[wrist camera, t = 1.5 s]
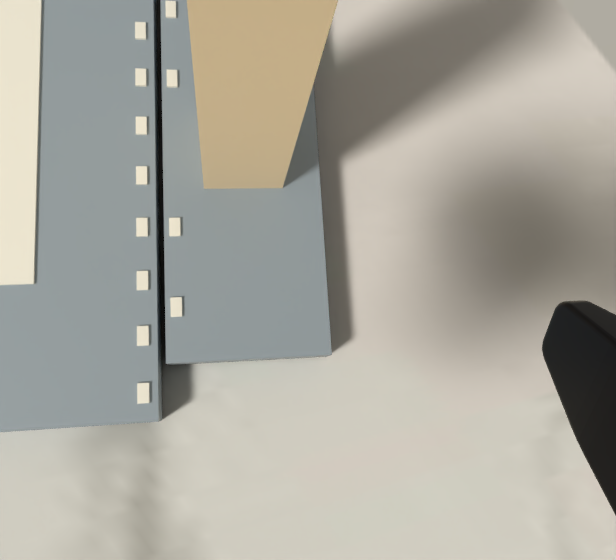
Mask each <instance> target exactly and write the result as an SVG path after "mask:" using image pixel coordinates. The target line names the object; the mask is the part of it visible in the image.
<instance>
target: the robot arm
mask: <svg viewBox="0 0 616 560" xmlns="http://www.w3.org/2000/svg"><path fill="white" fill-rule="evenodd" d="M542 351H543V356H544V359H545V362H546V364H547V367H548V369H549V372H550V374H551V377H552V379H553V382H554V385H555V387H556V390H557V392H558V395H559V397H560V400H561V402H562V405H563V407H564V410H565V412H566V415H567V417H568V420H569V422H570V425H571V427H572V430H573V432H574V434H575V437H576V439H577V441H578V443H579V445H580V447H581V449H582V451H583V454H584V456H585V457H586V459H587V461H588V463H589V465H590V467H591V469H592V471H593V473H594V475H595V477H596V479H597V480H598V482H599V484H600V486H601V488H602V490H603V492H604V494H605V496H606V498H607V500H608V502H609V503H610V505H611V507H612V509H613V511H614V513H615V515H616V315H615V314H613V313H611V312H609V311H607V310H605V309H603V308H601V307H599V306H597V305H595V304H593V303H591V302H588V301H564V302H562V303H560V304H559V305H558V306H557V307H556V308H555V311H554V313H553V316H552V318H551V321H550V324H549V326H548V329H547V332H546V334H545V337H544V340H543V345H542Z"/></svg>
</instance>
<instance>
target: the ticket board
mask: <svg viewBox="0 0 616 560" xmlns="http://www.w3.org/2000/svg"><path fill="white" fill-rule="evenodd" d="M161 420H162V374H161V300H160V226H159V152H158V79H157V5H156V0H0V432H11V431H25V430H40V429H55V428H70V427H84V426H99V425H114V424H129V423H144V422H158V421H161Z"/></svg>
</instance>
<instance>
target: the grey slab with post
mask: <svg viewBox="0 0 616 560" xmlns="http://www.w3.org/2000/svg"><path fill="white" fill-rule="evenodd" d="M160 2H161V69H162V136H163V203H164V269H165V336H166V364H168V365H178V364H196V363H215V362H234V361H253V360H272V359H290V358H309V357H327V356H330V355H332V350H331V335H330V321H329V306H328V291H327V276H326V261H325V246H324V231H323V216H322V201H321V186H320V171H319V156H318V141H317V126H316V111H315V97H314V80H315V77H316V73H317V70H318V67H319V63H320V60H321V56H322V53H323V50H324V46H325V43H326V40H327V36H328V33H329V29H330V26H331V23H332V19H333V16H334V13H335V9H336V6H337V2H338V0H160Z"/></svg>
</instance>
